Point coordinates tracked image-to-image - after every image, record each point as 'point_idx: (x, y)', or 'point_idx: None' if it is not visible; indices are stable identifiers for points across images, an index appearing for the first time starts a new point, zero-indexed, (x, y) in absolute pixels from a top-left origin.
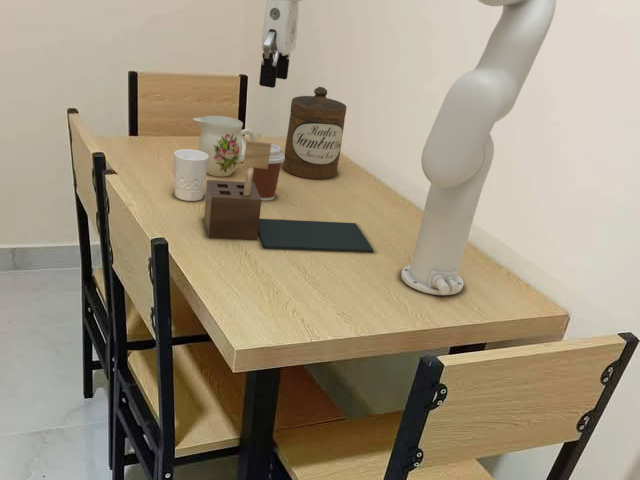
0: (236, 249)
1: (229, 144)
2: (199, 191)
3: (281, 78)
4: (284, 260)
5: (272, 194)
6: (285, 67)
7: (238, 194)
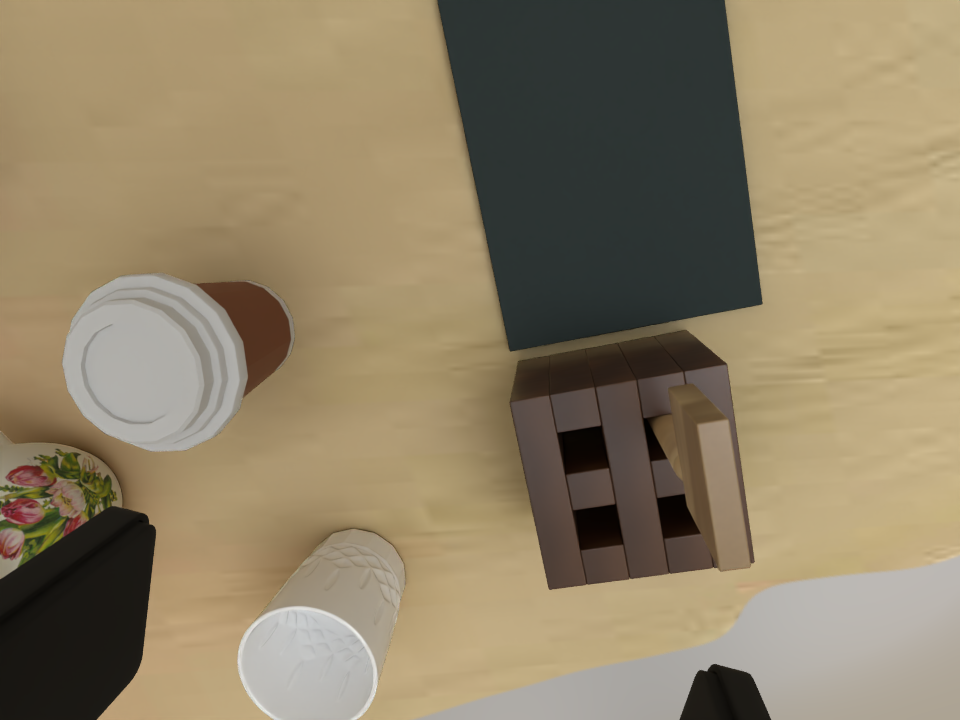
0: (787, 395)
1: (36, 521)
2: (380, 556)
3: (141, 565)
4: (852, 226)
5: (263, 291)
6: (50, 623)
7: None
